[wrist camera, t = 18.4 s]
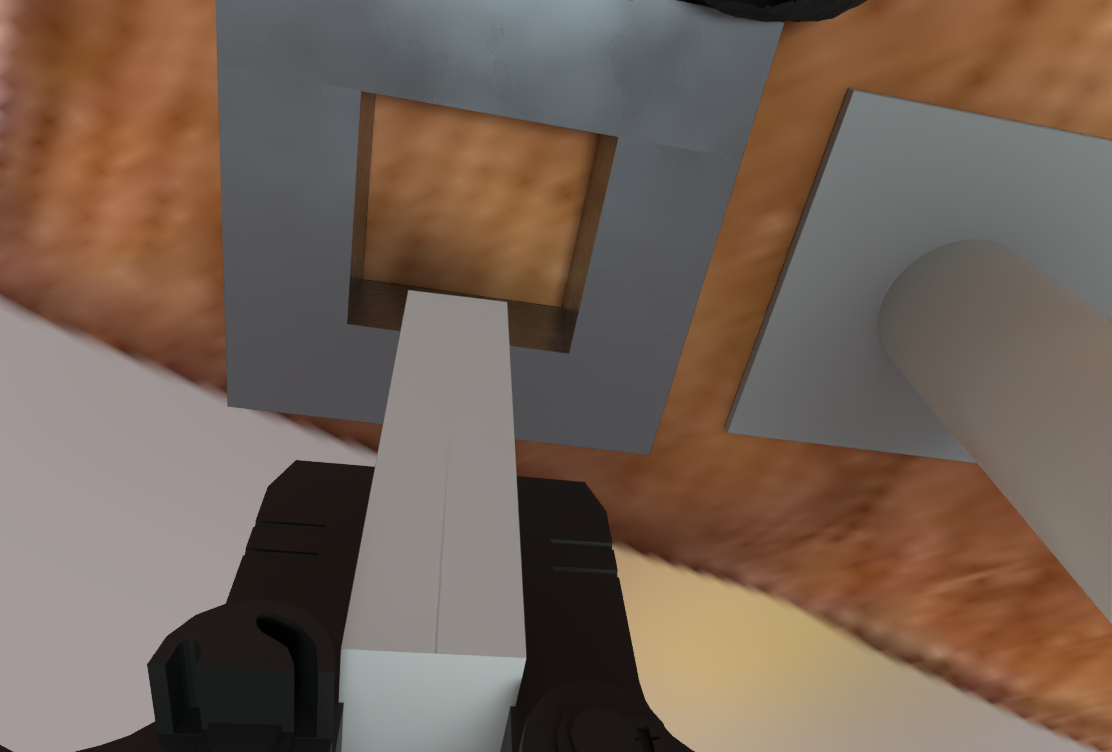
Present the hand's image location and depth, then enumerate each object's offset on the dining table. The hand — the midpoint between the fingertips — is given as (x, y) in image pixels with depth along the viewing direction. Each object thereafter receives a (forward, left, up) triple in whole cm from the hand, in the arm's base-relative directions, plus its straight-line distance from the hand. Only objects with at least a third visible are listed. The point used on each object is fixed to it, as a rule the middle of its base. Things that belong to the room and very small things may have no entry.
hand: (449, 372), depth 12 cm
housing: (0, +1, -12) cm, 12 cm away
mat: (-16, +2, -12) cm, 21 cm away
